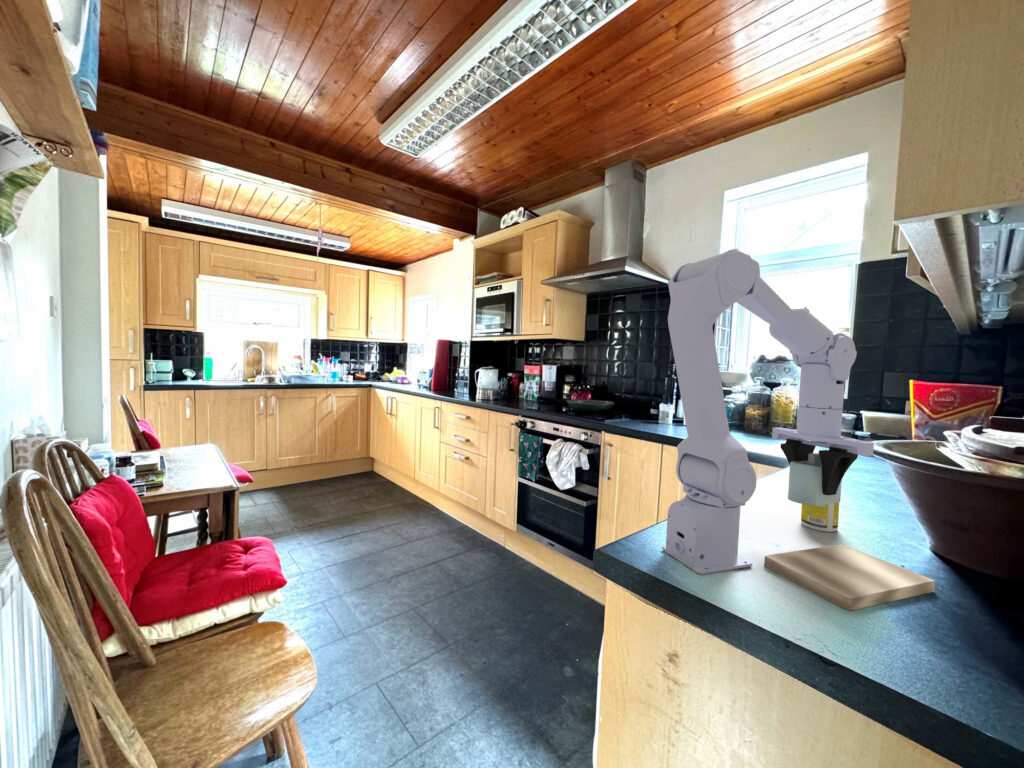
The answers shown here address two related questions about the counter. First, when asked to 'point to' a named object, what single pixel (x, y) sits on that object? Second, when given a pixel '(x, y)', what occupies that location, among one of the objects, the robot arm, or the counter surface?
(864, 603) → the cutting board
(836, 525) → the supplement bottle
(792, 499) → the grey capsule with tab
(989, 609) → the counter surface
